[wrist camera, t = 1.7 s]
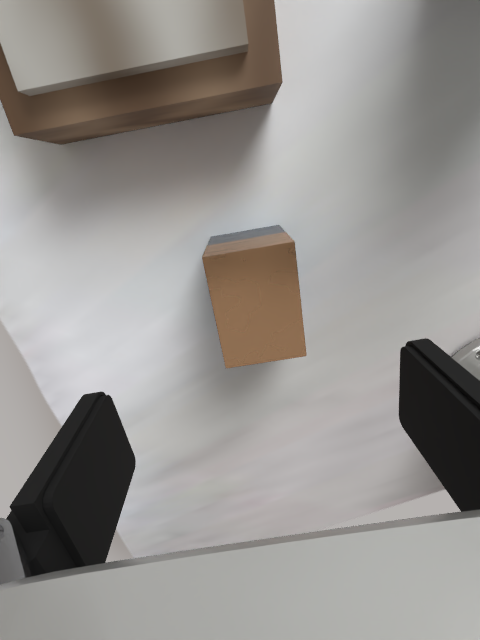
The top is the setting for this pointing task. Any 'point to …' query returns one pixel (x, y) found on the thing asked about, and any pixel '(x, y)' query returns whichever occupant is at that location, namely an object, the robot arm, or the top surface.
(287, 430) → the top surface
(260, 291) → the block
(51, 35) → the walnut stand
